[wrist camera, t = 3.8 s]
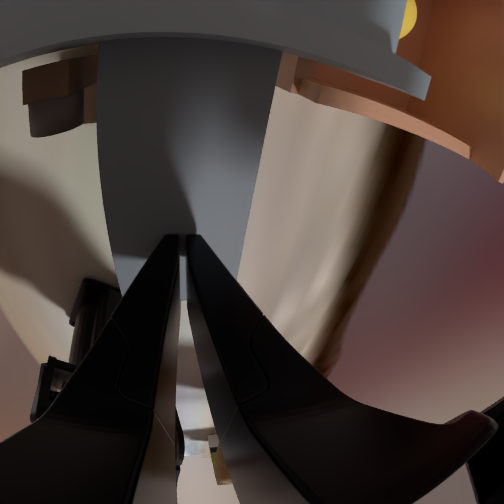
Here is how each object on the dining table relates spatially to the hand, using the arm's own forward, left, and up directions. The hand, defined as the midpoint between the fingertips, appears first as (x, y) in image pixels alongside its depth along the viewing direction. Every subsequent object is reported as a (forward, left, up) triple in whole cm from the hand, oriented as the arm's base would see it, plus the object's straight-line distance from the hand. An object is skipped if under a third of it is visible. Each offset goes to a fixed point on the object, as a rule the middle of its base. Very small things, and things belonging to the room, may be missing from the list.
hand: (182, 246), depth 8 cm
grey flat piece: (+2, +7, 0) cm, 7 cm away
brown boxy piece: (+12, -2, -7) cm, 14 cm away
